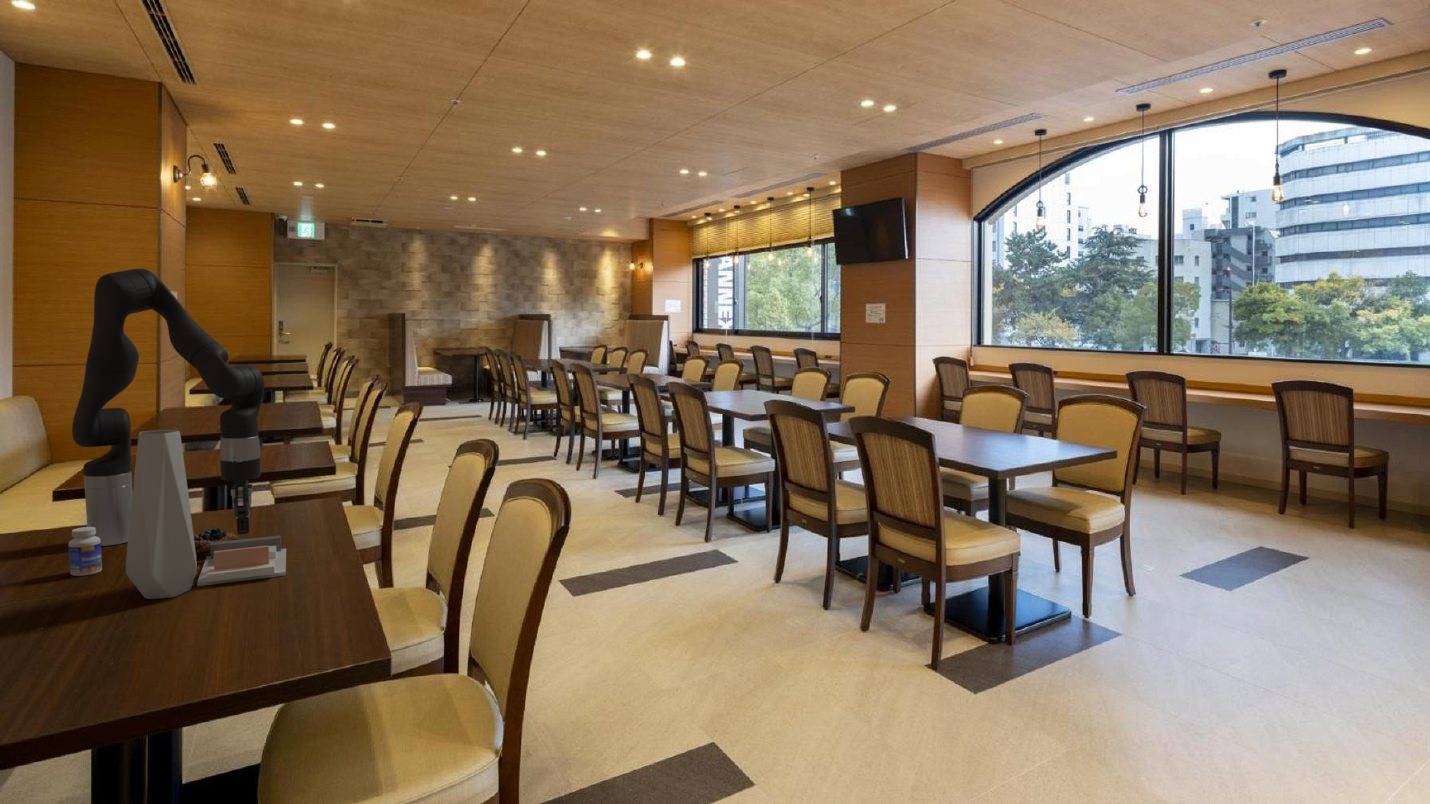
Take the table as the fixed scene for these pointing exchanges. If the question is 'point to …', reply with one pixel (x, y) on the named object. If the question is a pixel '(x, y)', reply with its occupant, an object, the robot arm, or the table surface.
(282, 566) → the white tray
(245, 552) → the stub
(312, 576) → the table surface
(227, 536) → the pastry
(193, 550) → the vase
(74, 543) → the pill bottle
